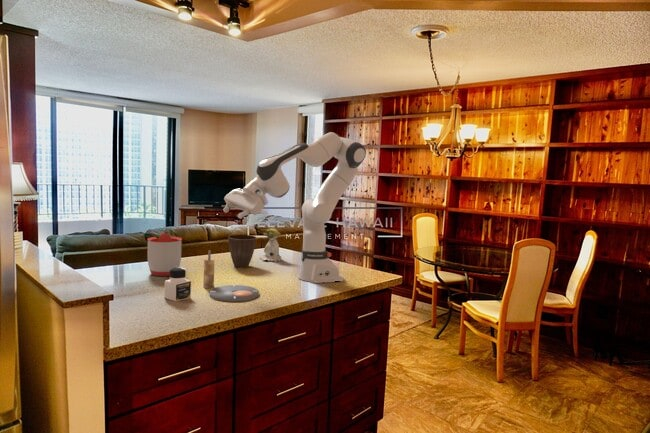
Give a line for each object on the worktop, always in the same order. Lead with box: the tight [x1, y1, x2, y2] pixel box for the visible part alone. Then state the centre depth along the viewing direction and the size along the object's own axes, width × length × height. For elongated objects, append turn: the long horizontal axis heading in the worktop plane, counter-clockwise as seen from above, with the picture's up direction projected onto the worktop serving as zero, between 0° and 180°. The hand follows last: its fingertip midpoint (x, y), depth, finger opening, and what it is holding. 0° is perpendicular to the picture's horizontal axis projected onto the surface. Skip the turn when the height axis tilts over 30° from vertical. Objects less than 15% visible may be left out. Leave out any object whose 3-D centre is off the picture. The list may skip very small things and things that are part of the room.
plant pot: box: [227, 234, 258, 269], centre depth 224 cm, size 15×15×16 cm
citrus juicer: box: [146, 232, 183, 277], centre depth 201 cm, size 16×17×20 cm
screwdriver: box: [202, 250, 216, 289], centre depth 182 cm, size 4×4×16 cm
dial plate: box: [209, 284, 260, 303], centre depth 174 cm, size 20×20×1 cm
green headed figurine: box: [259, 227, 282, 263], centre depth 245 cm, size 12×13×18 cm
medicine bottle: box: [163, 266, 192, 303], centre depth 165 cm, size 7×7×12 cm
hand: (231, 214), depth 181 cm, fingers open, 8 cm apart
